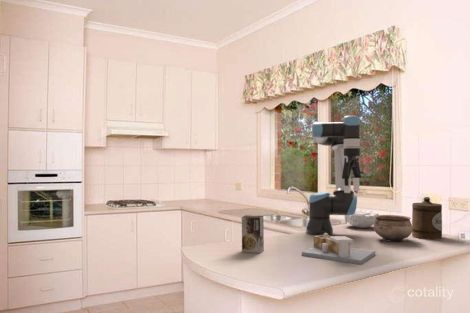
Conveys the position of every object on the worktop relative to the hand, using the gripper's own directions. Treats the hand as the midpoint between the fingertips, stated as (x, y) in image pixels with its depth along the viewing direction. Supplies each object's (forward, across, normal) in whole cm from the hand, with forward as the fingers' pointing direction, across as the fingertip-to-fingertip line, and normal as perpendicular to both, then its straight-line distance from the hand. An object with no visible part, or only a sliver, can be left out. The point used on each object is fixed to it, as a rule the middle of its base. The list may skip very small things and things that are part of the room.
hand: (351, 191), depth 187 cm
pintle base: (+27, -19, 0) cm, 33 cm away
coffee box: (+27, -34, +35) cm, 56 cm away
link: (+25, -17, +3) cm, 31 cm away
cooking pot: (+27, +29, -12) cm, 41 cm away
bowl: (+27, +60, +14) cm, 67 cm away
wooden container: (+27, +50, -25) cm, 62 cm away
